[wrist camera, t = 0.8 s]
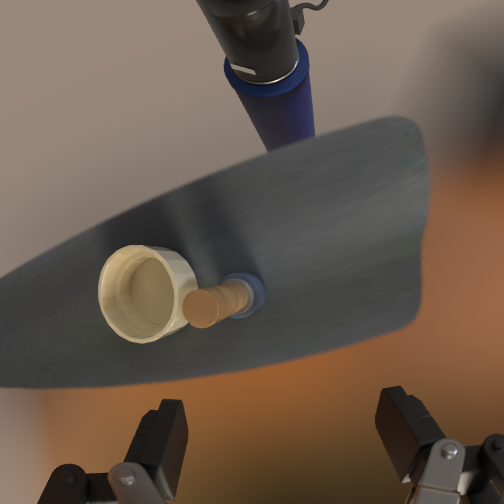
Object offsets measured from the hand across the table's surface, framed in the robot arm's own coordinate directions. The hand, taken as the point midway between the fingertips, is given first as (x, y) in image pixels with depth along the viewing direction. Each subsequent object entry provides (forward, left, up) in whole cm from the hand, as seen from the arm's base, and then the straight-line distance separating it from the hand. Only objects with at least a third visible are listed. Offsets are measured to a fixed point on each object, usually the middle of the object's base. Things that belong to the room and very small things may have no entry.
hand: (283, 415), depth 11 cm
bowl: (+3, -18, -23) cm, 30 cm away
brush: (0, -8, -23) cm, 25 cm away
